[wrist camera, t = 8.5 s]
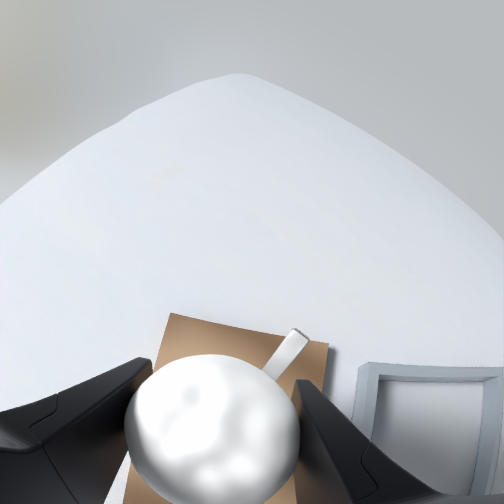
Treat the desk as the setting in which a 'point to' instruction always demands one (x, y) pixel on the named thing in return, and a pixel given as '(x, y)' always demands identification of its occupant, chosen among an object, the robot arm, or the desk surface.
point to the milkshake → (216, 428)
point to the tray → (493, 377)
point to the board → (241, 347)
